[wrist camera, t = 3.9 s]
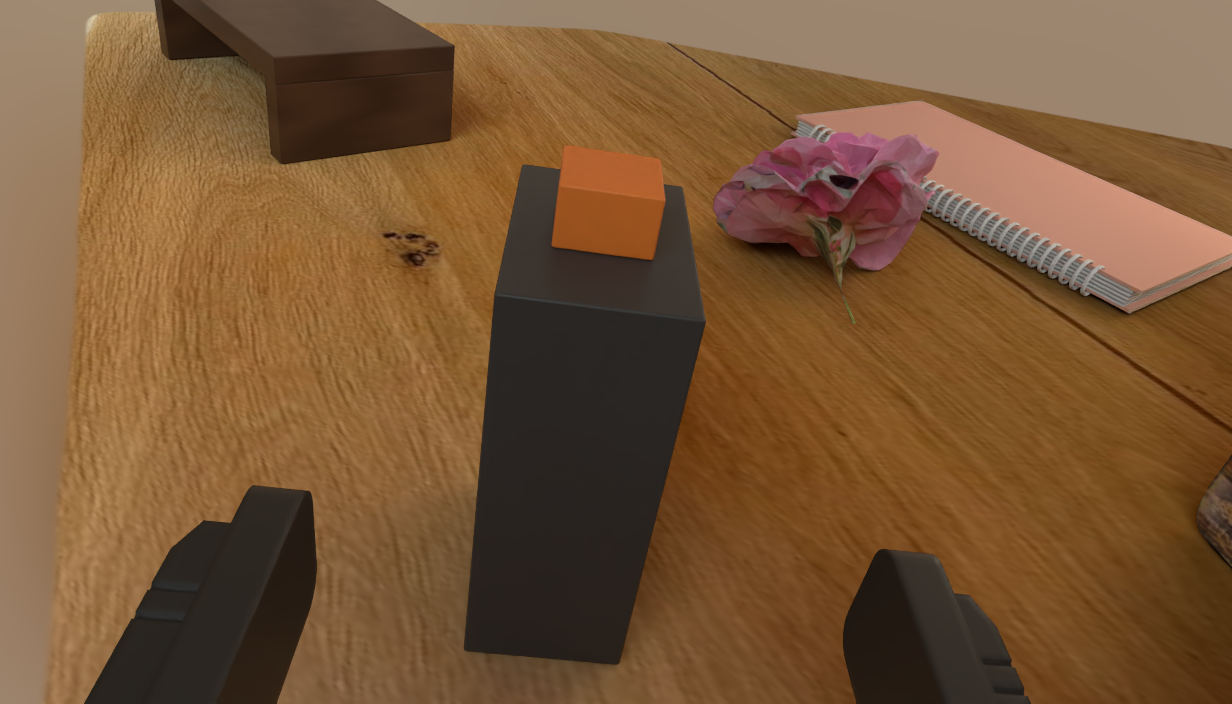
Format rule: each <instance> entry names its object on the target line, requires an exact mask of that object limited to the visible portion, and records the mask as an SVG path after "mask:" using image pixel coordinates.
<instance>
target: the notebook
mask: <svg viewBox="0 0 1232 704" xmlns="http://www.w3.org/2000/svg"><path fill="white" fill-rule="evenodd" d="M796 119H798V120H800V121H799V123H801V124H798V126H800V127H797V129H799V130H796V131H792V132H791V135H793V136H795V137H810V138H814V139H816V140H817V141H820V142H821V143H822V144H823V143H825V142H827V141H828V140H829V138H830V136H831V134H834V133H837V132H852V133H853V134H855V135H856V136H857V137H860V136H862V135H864V134H866V132H869V133H871V134H874V135H876V136H879V137H881V138H885V139H887V140H889V141H891V140H893V139H894V138H896V137H898V136H902V135H907V134H917V135H918V138H919V140H920V141H921V142H922V143H923V144H925V145H927V146H929V147H931V148H935V149H936V150H937V151H938V152H939V156H938V158H937V160H936V163H935V165H934V167H933V169H932V171H930V172H929V173H928V174H927V175H925V176H924V177H923V179H922V180H921V182H920V184H919V186H920V187H921V188H922V189H923V190H924V191H925V193H927V192H929V191H931V190H933V189H934V191H935V192H936V194H934V195H932V196H931V198H930V199H929V200H928V201H927V207H929V208H931V209H929V210H927V208H926V209H925V211H926V212H928V213H930V212H932V214H933V215H934V216H935V217H941V219H942V220H943V221H945V222H949V221H950V224H951V225H952V226H954V227H956V226H959V229H960V230H962V231H968V233H969V235H970V236H978V239H979V240H980V241H986V240H987V244H988V245H990V246H996V245H997V249H998V250H999V251H1001V252H1003V251H1005V250H1007V255H1008V256H1011V257H1013V256H1015V255H1017V260H1018V261H1019V262H1024V261H1026V260H1027V266H1029V267H1035V266H1037V270H1038V272H1040V273H1044V272H1046V271H1048V277H1049V278H1051V279H1054V278H1056V277H1058V276H1059V277H1058V281H1059V283H1060V284H1066V283H1067V282H1069V288H1070V289H1072V290H1076V289H1078V288H1080V293H1081V295H1083V296H1087V295H1089V294H1090V293H1092V294H1094V295H1095V296H1097V297H1099V298H1101V299H1103V300H1105V301H1107V302H1109V303H1111V304H1112V305H1114V306H1116V307H1118V308H1120V309H1122V310H1124V311H1126V312H1128V313H1129V314H1130V313H1132V312H1134V311H1136V310H1138V309H1141V308H1143V307H1145V306H1147V305H1149V304H1152V303H1154V302H1156V301H1158V300H1160V299H1163V298H1165V297H1167V296H1169V295H1171V294H1174V293H1176V292H1178V291H1180V290H1183V289H1185V288H1187V287H1189V286H1191V285H1194V284H1196V283H1198V282H1200V281H1202V280H1205V279H1207V278H1209V277H1211V276H1213V275H1216V274H1218V273H1220V272H1222V271H1224V270H1227V269H1229V268H1231V267H1232V237H1231V236H1229V235H1227V234H1225V233H1222V232H1220V231H1218V230H1215V229H1213V228H1211V227H1209V226H1206V225H1204V224H1202V223H1200V222H1197V221H1195V220H1193V219H1190V218H1188V217H1186V216H1184V215H1181V214H1179V213H1177V212H1174V211H1172V210H1170V209H1168V208H1165V207H1163V206H1161V205H1158V204H1156V203H1154V202H1152V201H1149V200H1147V199H1145V198H1142V197H1140V196H1138V195H1136V194H1133V193H1131V192H1129V191H1126V190H1124V189H1122V188H1120V187H1117V186H1115V185H1113V184H1111V183H1108V182H1106V181H1104V180H1101V179H1099V178H1097V177H1095V176H1092V175H1090V174H1088V173H1085V172H1083V171H1081V170H1079V169H1076V168H1074V167H1072V166H1069V165H1067V164H1065V163H1063V162H1060V161H1058V160H1056V159H1053V158H1051V157H1049V156H1047V155H1044V154H1042V153H1040V152H1037V151H1035V150H1033V149H1031V148H1028V147H1026V146H1024V145H1022V144H1019V143H1017V142H1015V141H1012V140H1010V139H1008V138H1006V137H1003V136H1001V135H999V134H996V133H994V132H992V131H990V130H987V129H985V128H983V127H980V126H978V125H976V124H974V123H971V122H969V121H967V120H964V119H962V118H960V117H958V116H955V115H953V114H951V113H948V112H946V111H944V110H942V109H939V108H937V107H935V106H933V105H930V104H928V103H926V102H923V101H912V102H904V103H896V104H887V105H879V106H870V107H862V108H854V109H845V110H837V111H829V112H820V113H812V114H803V115H796ZM936 211H937V212H939V214H936ZM945 216H946V217H948V218H947V219H945ZM954 221H956V222H957V223H955V224H954ZM963 226H965V227H966V228H963ZM972 230H973V231H975V233H972ZM981 235H982V236H984V238H982V236H981ZM991 240H992V241H993V243H991ZM1001 246H1003V247H1004V248H1002V249H1001ZM1011 251H1012V252H1013V253H1011ZM1021 256H1022V257H1024V258H1022V259H1021ZM1031 262H1033V264H1031ZM1042 267H1043V268H1044V269H1042V270H1041V268H1042ZM1052 273H1054V275H1052ZM1063 279H1065V280H1063ZM1062 280H1063V281H1062ZM1074 284H1075V286H1074ZM1085 290H1086V292H1085Z"/></svg>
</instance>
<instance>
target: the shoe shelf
mask: <svg viewBox="0 0 1232 704" xmlns="http://www.w3.org/2000/svg"><path fill="white" fill-rule="evenodd" d="M155 6H156V14H157V21H158V28H159V35H160V42H161V49H162V53H163V54H164V55H165V56H166V57H167V58H168V59H184V58H201V57H217V56H233V55H240V56H241V57H243V58H244V59H245V60H246V61H248V62H249V63H250V64H251V65H252V66H254V67H255V68H256V69H257V70H259V71H260V72H261V73H262V74H264V75H265V76H266V77H265V83H266V96H267V109H268V122H269V135H270V148H271V154H272V155H273V156H274V157H275V158H276V159H277V160H278V161H279V162H280V163H281V164H284V163H291V162H298V161H305V160H312V159H319V158H327V157H334V156H341V155H348V154H355V153H362V152H369V151H376V150H383V149H390V148H397V147H404V146H412V145H419V144H426V143H433V142H440V141H447V140H450V139H451V117H452V96H453V75H454V71H453V69H454V50H455V46H454V45H453V44H451V43H449V42H447V41H446V40H444V39H442V38H441V37H439V36H437V35H435V34H434V33H432V32H430V31H428V30H427V29H425V28H423V27H422V26H420V25H418V24H416V23H415V22H413V21H411V20H409V19H408V18H406V17H404V16H403V15H401V14H399V13H397V12H396V11H394V10H392V9H391V8H389V7H387V6H385V5H384V4H382V3H380V2H379V1H376V0H155Z"/></svg>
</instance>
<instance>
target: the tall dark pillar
mask: <svg viewBox="0 0 1232 704" xmlns="http://www.w3.org/2000/svg"><path fill="white" fill-rule="evenodd" d="M705 324H706V319H705V314H704V308H703V302H702V296H701V291H700V285H699V279H698V273H697V267H696V262H695V256H694V250H693V244H692V239H691V233H690V227H689V221H688V215H687V210H686V204H685V198H684V192H683V188H682V187H679V186H672V185H665V184H663V176H662V169H661V161H660V159H657V158H650V157H643V156H636V155H629V154H623V153H616V152H609V151H602V150H595V149H588V148H581V147H574V146H568V145H566V146H564V147H563V154H562V162H561V170H560V169H553V168H546V167H539V166H532V165H523V166H522V169H521V173H520V178H519V183H518V187H517V192H516V197H515V201H514V206H513V211H512V215H511V220H510V225H509V229H508V234H507V239H506V243H505V248H504V253H503V257H502V262H501V266H500V271H499V276H498V280H497V285H496V290H495V294H494V305H493V317H492V329H491V340H490V352H489V363H488V375H487V386H486V398H485V409H484V421H483V433H482V444H481V456H480V467H479V479H478V490H477V502H476V513H475V525H474V537H473V548H472V560H471V571H470V583H469V594H468V606H467V617H466V629H465V640H464V650H465V651H472V652H483V653H495V654H506V655H517V656H528V657H539V658H550V659H561V660H573V661H584V662H595V663H606V664H619V662H620V658H621V654H622V650H623V646H624V642H625V638H626V634H627V630H628V626H629V622H630V619H631V615H632V611H633V607H634V603H635V599H636V595H637V591H638V587H639V583H640V579H641V575H642V571H643V567H644V563H645V560H646V556H647V552H648V548H649V544H650V540H651V536H652V532H653V528H654V524H655V520H656V516H657V512H658V508H659V504H660V501H661V497H662V493H663V489H664V485H665V481H666V477H667V473H668V469H669V465H670V461H671V457H672V453H673V449H674V446H675V442H676V438H677V434H678V430H679V426H680V422H681V418H682V414H683V410H684V406H685V402H686V398H687V394H688V390H689V387H690V383H691V379H692V375H693V371H694V367H695V363H696V359H697V355H698V351H699V347H700V343H701V339H702V335H703V331H704V328H705Z"/></svg>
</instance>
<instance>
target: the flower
mask: <svg viewBox="0 0 1232 704" xmlns="http://www.w3.org/2000/svg"><path fill="white" fill-rule="evenodd" d="M938 156H939V152H938V151H937V150H936V149H935V148H931V147H929V146H927V145H925V144H923V143H922V142H921V141H920V140H919V138H918V135H917V134H907V135H902V136H898V137H896V138H894V139H893V140H891V141H889V140H887V139H885V138H881V137H879V136H876V135H874V134H871V133H869V132H866V134H864V135H862V136H860V137H857V136H856V135H855V134H853V133H852V132H837V133H834V134H831V136H830V138H829V140H828V141H827V142H825V143H823V144H822V143H821V142H820V141H817V140H816V139H814V138H810V137H797V138H794V139H790V140H786V141H784V142H783V143H782V144H781V145H779V146H778V147H776V148H775V149H773V150H772V152H770V151H762V152H761V153H760V154H759V155H758V156H757V157H756V158H755V160H754V161H753V163H752V164H749V165H747V166H744V167H741V168H740V169H739V170H738V171H737V172H736V173H735V174H734V175H733V177H732V179H731V181H730V182H728V183H727V184H723V185H722V187H721V189H720V190H719V191H718V193H717V194H716V195H715V198H714V206H713V210H714V212H715V214H716V216H717V224H718V225H719V226H720V227H721V228H722V229H723V230H724V231H725V232H726V233H727V234H729V235H730V236H731V237H734V238H738V239H741V240H744V241H747V242H748V243H760V242H765V243H789V244H790V245H791V246H793V247H794V248H795V249H796V250H797V251H798V252H799V253H800V255H801V256H804V257H817V256H821V257H822V258H823V259H824V260H825V261H826V262H827V264H828V265H829V266H830V268H831V269H832V271H833V275H834V280H835V282H836V283H837V285H838V286H839V288H840V291H841V285H842V269H843V267H844V265H845V263H846V261H847V259H848V258H849V259H850V260H851V261H852V262H853V263H854V264H855V265H856V266H857V267H858V268H859V269H866V270H873V271H874V270H881V269H883V268H884V267H885V266H887V265H888V264H890V263H891V262H892V261H893V260H894V258H895V257H896V256H897V254H898V253H899V252H900V250H901V249H902V248H903V247H904V245H905V244H906V242H907V241H908V239H909V237H910V236H911V234H912V232H913V231H914V229H915V227H916V224H917V223H918V222H919V220H920V217H921V212H922V211H923V210H925V209H926V208H927V201H928V200H929V199H930V198H931V196H932V195H934V194H936V192H935V191H934V189H933V190H931V191H929V192H927V193H925V191H924V190H923V189H922V188H921V187H920V186H919V184H920V182H921V180H922V179H923V177H924V176H925V175H927V174H928V173H929V172H930V171H932V169H933V167H934V165H935V163H936V160H937V158H938ZM841 293H842V292H841ZM842 296H843V294H842ZM843 299H844V302H845V305H846V307H847V310H848V312H849V315H850V317H851V320H852V323H853V324H855V323H856V322H855V320H854V318H853V315H852V313H851V310H850V308H849V306H848V304H847V302H846V300H845V298H844V296H843Z"/></svg>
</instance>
